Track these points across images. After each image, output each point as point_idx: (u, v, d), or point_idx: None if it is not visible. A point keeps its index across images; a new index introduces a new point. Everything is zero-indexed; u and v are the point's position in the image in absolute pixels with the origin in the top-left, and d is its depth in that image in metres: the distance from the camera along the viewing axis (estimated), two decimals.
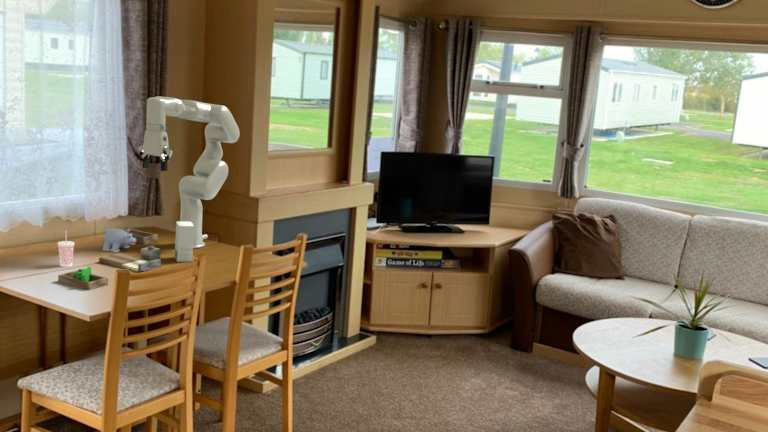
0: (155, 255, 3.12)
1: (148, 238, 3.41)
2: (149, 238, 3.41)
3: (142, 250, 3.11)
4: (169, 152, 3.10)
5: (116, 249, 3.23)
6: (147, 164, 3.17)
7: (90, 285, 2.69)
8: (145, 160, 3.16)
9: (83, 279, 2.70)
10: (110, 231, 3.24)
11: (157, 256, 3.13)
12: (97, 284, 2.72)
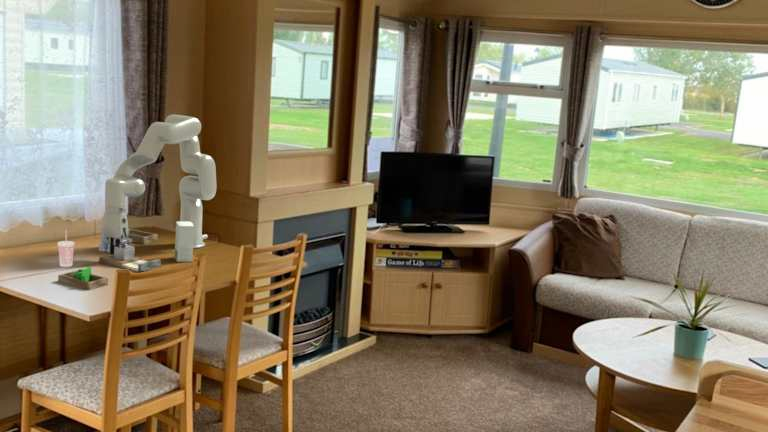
0: (128, 253, 3.04)
1: (148, 238, 3.41)
2: (149, 238, 3.41)
3: (115, 248, 3.03)
4: (122, 240, 3.04)
5: None
6: None
7: (90, 285, 2.69)
8: None
9: (83, 279, 2.70)
10: None
11: (131, 254, 3.05)
12: (97, 284, 2.72)
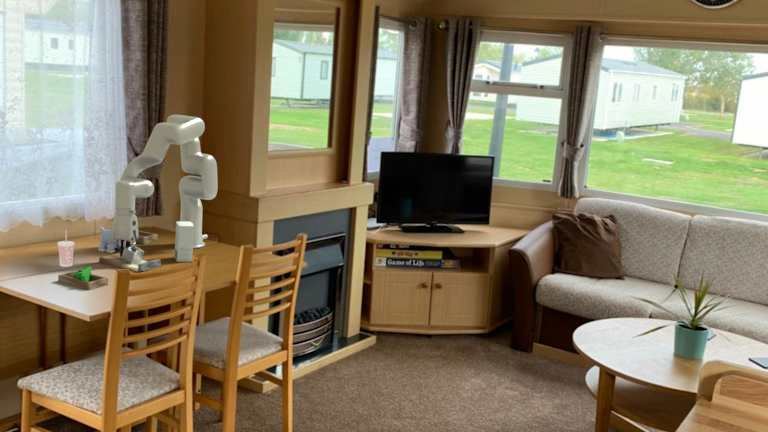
0: (137, 257, 3.02)
1: (148, 238, 3.41)
2: (149, 238, 3.41)
3: (125, 249, 3.01)
4: (132, 242, 3.02)
5: (111, 250, 3.21)
6: None
7: (90, 285, 2.69)
8: None
9: (83, 279, 2.70)
10: (106, 231, 3.23)
11: (139, 258, 3.03)
12: (97, 284, 2.72)
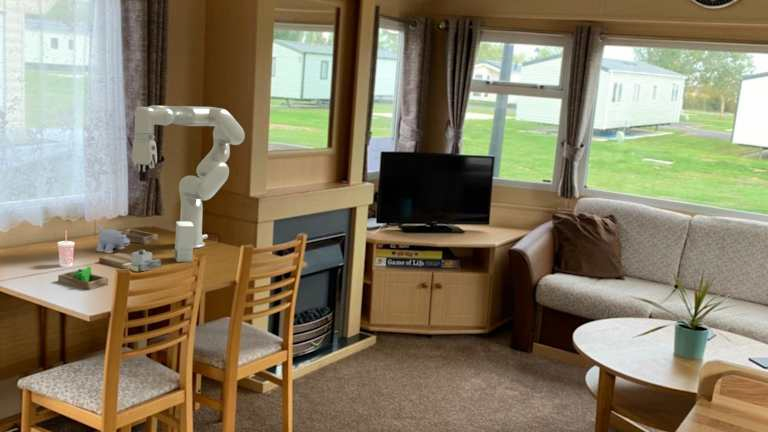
0: (146, 259, 2.99)
1: (148, 238, 3.41)
2: (149, 238, 3.41)
3: (133, 254, 2.99)
4: (151, 166, 3.15)
5: (109, 250, 3.20)
6: None
7: (90, 285, 2.69)
8: None
9: (83, 280, 2.70)
10: (104, 232, 3.22)
11: (148, 260, 3.01)
12: (97, 284, 2.72)
